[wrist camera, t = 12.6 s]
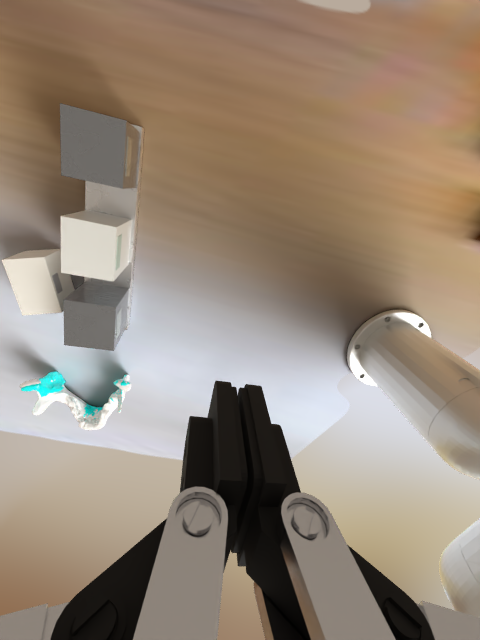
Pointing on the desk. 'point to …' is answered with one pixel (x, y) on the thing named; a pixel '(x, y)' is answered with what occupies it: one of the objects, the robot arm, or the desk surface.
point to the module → (95, 244)
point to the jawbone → (75, 399)
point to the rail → (109, 198)
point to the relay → (38, 281)
